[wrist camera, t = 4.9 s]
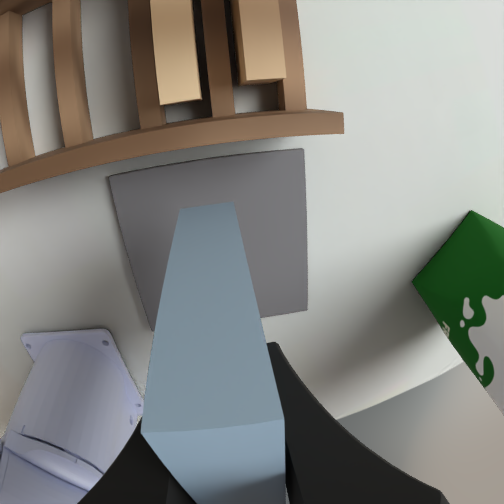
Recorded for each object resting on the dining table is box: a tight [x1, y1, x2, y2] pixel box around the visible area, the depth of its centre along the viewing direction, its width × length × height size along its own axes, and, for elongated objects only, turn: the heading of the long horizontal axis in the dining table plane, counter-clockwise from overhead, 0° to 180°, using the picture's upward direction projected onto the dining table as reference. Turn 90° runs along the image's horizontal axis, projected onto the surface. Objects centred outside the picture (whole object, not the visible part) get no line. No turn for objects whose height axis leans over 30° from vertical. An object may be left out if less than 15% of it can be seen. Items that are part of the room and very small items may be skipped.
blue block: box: [141, 202, 286, 504], centre depth 10 cm, size 8×2×9 cm, turn 5°
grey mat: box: [109, 148, 308, 332], centre depth 18 cm, size 10×10×1 cm
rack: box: [0, 0, 344, 193], centre depth 10 cm, size 10×16×5 cm, turn 95°
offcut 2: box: [229, 0, 286, 86], centre depth 11 cm, size 6×2×4 cm, turn 5°
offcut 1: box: [150, 0, 202, 105], centre depth 11 cm, size 7×2×4 cm, turn 5°
